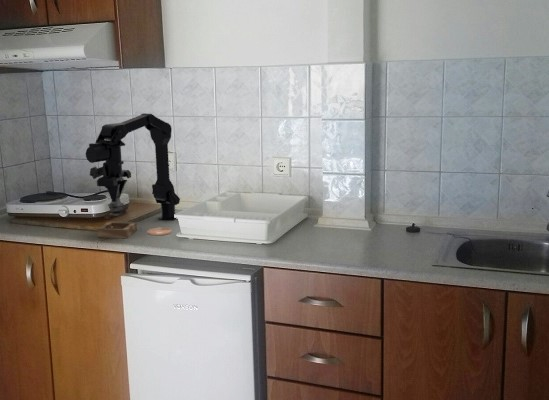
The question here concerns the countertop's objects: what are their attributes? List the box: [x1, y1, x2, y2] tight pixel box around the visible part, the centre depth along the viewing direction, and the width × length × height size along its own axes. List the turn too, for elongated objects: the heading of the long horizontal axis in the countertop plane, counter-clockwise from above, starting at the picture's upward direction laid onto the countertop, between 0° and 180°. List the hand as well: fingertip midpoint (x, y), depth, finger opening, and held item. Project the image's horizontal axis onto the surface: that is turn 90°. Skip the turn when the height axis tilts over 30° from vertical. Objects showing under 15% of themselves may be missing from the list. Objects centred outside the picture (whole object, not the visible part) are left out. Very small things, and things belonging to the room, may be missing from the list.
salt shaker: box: [107, 190, 125, 216], centre depth 229 cm, size 6×6×12 cm
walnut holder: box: [96, 221, 138, 239], centre depth 231 cm, size 11×11×3 cm
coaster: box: [147, 227, 173, 236], centre depth 233 cm, size 9×9×1 cm
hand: (115, 200), depth 229 cm, fingers closed on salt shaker, 3 cm apart
